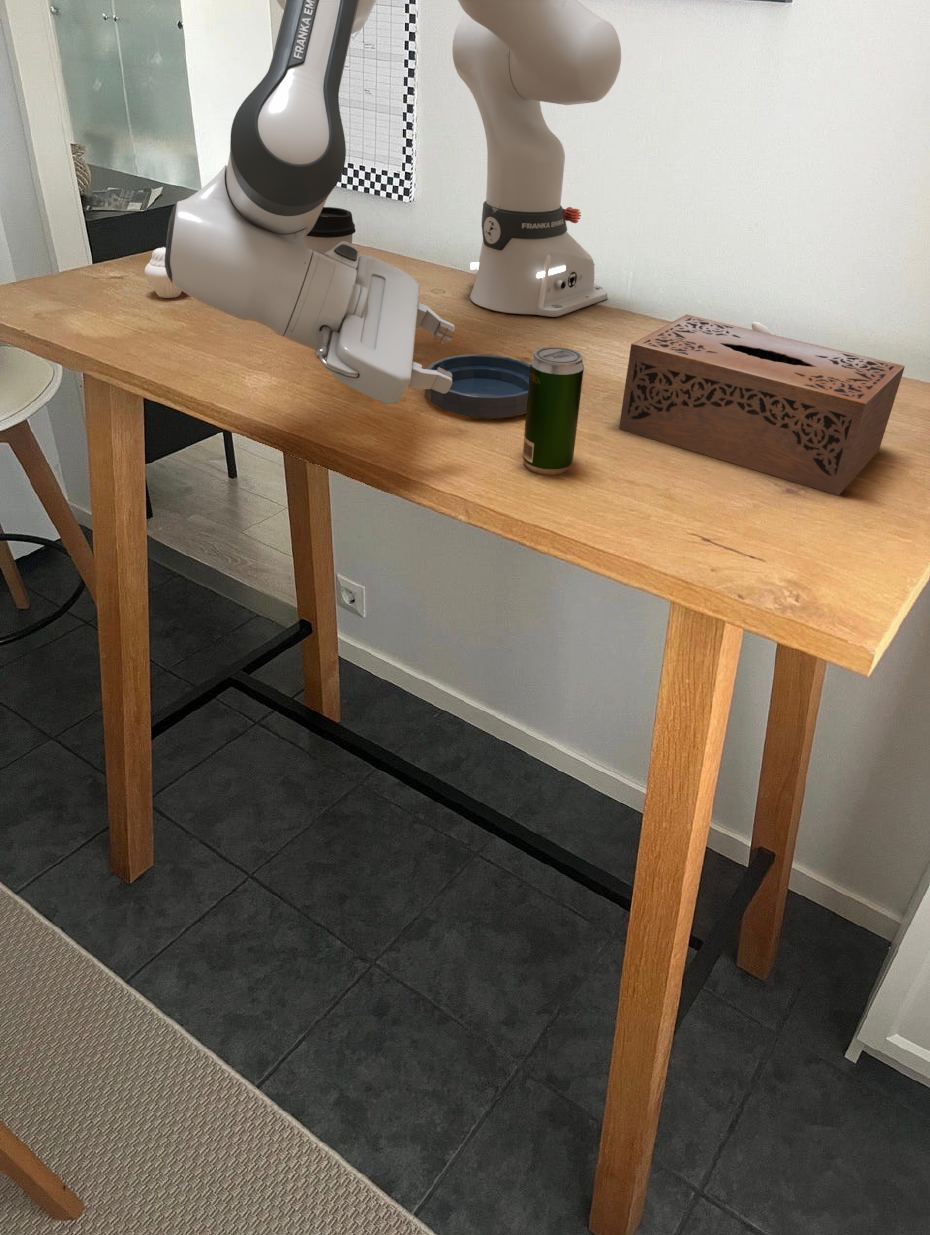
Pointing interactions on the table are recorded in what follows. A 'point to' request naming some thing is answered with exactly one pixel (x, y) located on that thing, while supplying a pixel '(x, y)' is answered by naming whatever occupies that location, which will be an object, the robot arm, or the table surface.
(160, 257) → the muffin
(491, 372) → the bowl
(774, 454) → the tissue box cover
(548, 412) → the beer can
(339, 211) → the coffee cup
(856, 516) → the table surface
